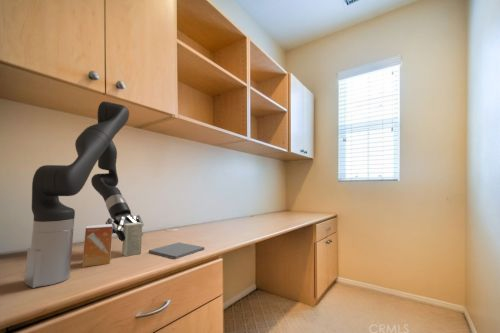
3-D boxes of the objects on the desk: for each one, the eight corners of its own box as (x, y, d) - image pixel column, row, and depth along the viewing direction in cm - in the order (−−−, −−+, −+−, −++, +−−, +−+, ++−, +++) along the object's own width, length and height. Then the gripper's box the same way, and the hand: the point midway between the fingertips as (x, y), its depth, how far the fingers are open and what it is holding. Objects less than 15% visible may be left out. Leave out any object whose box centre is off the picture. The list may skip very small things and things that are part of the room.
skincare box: (137, 251, 96) (139, 222, 97) (141, 253, 93) (143, 223, 94) (121, 254, 92) (123, 223, 93) (124, 256, 89) (126, 224, 90)
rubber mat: (175, 259, 87) (175, 256, 87) (148, 252, 95) (148, 250, 95) (204, 249, 100) (204, 247, 101) (178, 244, 109) (178, 242, 109)
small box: (82, 267, 77) (85, 227, 78) (83, 262, 82) (85, 225, 83) (110, 263, 81) (112, 226, 82) (109, 258, 86) (112, 223, 87)
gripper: (104, 202, 93) (119, 235, 86) (137, 200, 105) (152, 229, 98) (96, 214, 95) (110, 247, 88) (129, 211, 107) (144, 240, 100)
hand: (132, 238), depth 93 cm, fingers closed on skincare box, 7 cm apart
